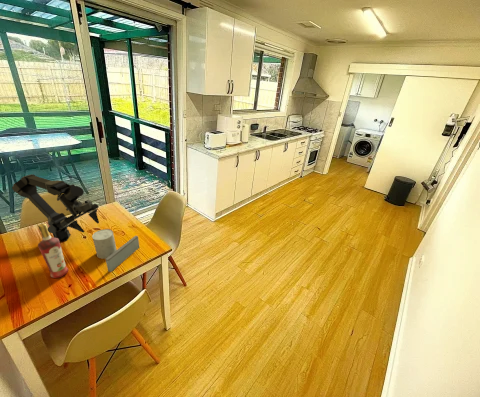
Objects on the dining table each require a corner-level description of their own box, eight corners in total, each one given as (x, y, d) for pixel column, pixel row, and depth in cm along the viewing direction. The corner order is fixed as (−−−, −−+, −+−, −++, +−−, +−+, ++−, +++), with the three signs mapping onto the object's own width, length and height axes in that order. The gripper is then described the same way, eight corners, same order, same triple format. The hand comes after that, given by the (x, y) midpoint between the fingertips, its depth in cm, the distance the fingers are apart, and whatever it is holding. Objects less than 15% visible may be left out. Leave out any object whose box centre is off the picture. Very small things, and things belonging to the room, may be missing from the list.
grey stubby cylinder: (96, 260, 117) (91, 241, 112) (97, 249, 124) (92, 231, 119) (117, 256, 121) (113, 237, 116) (116, 245, 129) (113, 227, 123)
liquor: (64, 266, 112) (48, 218, 99) (72, 272, 109) (56, 224, 96) (47, 275, 106) (27, 226, 93) (55, 282, 103) (35, 232, 90)
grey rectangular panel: (108, 271, 111) (105, 259, 108) (137, 246, 129) (135, 235, 126) (110, 272, 111) (108, 260, 108) (139, 247, 129) (137, 236, 126)
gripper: (61, 205, 104) (83, 232, 107) (94, 190, 120) (113, 214, 124) (50, 214, 109) (72, 239, 112) (84, 198, 125) (102, 220, 129)
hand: (91, 227), depth 119 cm, fingers open, 9 cm apart
